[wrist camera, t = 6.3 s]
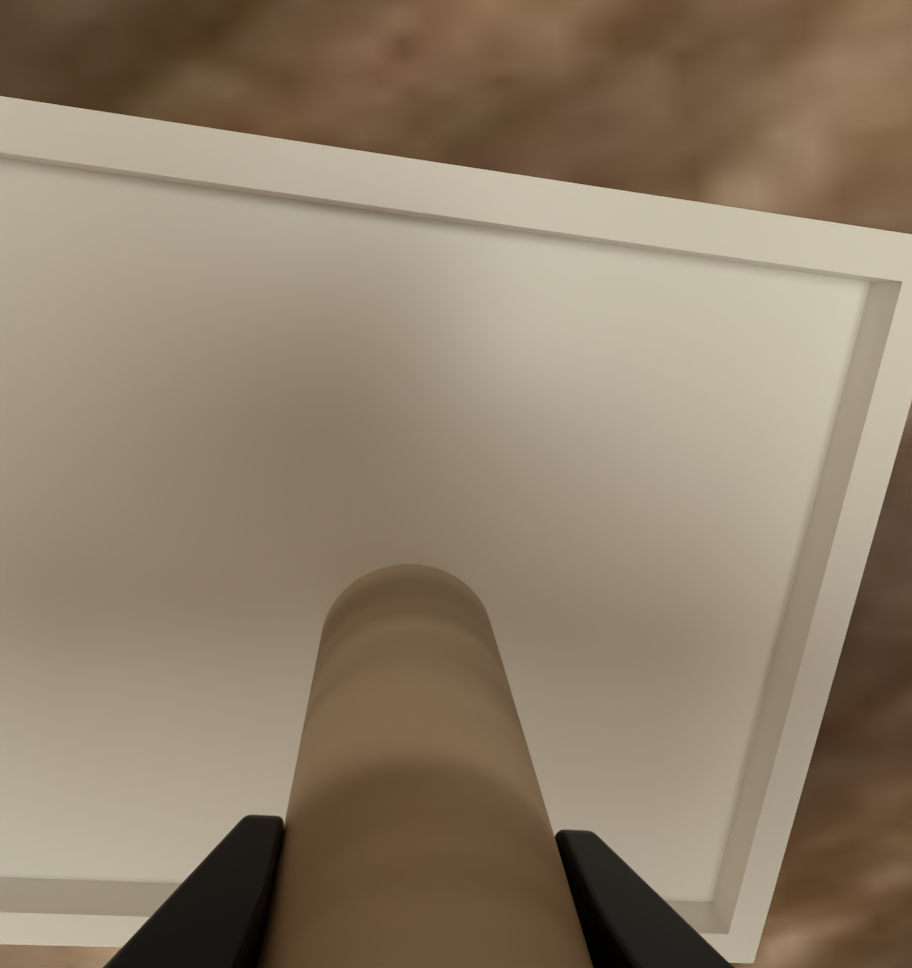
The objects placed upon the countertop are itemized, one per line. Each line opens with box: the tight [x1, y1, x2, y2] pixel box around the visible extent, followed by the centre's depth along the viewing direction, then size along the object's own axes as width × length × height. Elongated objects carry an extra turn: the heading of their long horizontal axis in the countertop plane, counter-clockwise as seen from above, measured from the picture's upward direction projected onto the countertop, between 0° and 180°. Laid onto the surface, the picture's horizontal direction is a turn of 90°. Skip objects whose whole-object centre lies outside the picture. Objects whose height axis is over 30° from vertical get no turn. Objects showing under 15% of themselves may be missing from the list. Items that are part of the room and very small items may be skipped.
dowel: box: [256, 564, 594, 968], centre depth 8 cm, size 3×3×11 cm
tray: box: [0, 96, 912, 963], centre depth 15 cm, size 16×18×2 cm
